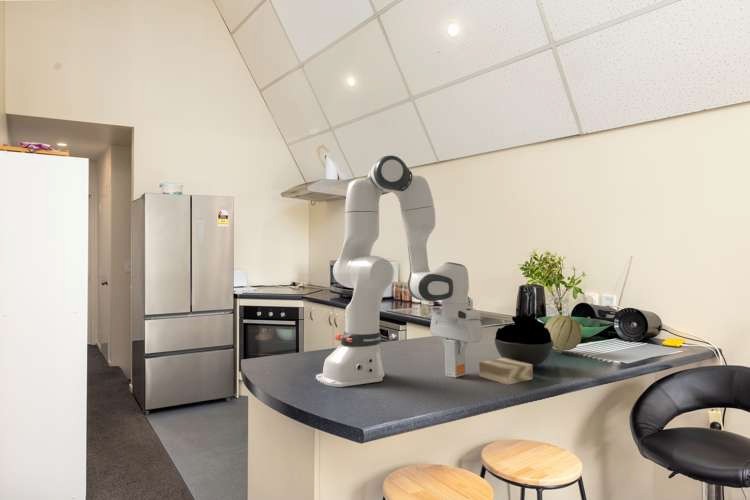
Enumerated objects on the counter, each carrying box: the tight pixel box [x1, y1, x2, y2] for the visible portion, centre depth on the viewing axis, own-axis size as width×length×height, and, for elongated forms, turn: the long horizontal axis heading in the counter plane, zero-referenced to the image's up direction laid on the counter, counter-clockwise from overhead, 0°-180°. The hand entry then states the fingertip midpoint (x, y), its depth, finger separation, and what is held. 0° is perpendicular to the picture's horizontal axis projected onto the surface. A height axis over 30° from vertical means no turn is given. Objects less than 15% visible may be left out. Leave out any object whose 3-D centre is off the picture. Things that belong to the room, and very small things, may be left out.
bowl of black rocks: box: [494, 312, 554, 368], centre depth 173 cm, size 20×20×19 cm
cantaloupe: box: [544, 313, 583, 351], centre depth 202 cm, size 15×15×15 cm
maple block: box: [478, 357, 534, 386], centre depth 159 cm, size 12×12×5 cm
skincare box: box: [444, 339, 466, 379], centre depth 161 cm, size 6×4×12 cm
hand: (454, 352), depth 161 cm, fingers closed on skincare box, 4 cm apart
